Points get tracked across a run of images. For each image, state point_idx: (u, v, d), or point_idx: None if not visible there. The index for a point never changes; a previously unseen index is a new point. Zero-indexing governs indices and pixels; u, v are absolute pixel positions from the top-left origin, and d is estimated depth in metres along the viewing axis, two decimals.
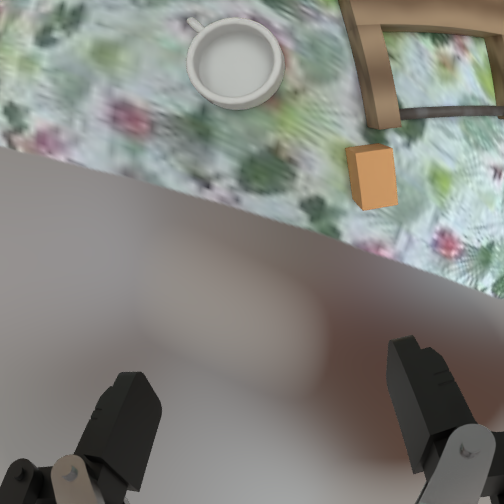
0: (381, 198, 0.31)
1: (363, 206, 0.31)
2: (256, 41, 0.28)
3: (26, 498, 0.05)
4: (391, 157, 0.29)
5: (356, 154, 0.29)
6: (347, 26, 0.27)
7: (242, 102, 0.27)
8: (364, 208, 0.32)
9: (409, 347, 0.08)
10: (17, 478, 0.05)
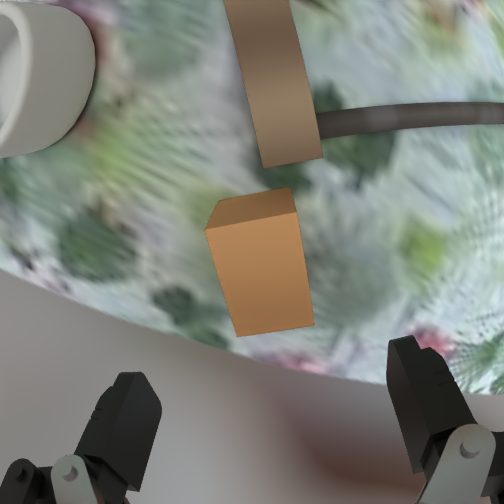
0: (276, 317, 0.16)
1: (237, 330, 0.16)
2: None
3: (26, 498, 0.05)
4: (295, 233, 0.14)
5: (207, 232, 0.14)
6: None
7: None
8: (240, 333, 0.16)
9: (409, 347, 0.08)
10: (17, 478, 0.05)
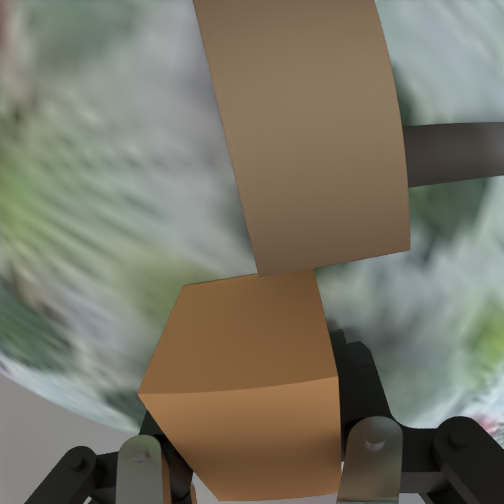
0: (281, 489, 0.08)
1: (219, 496, 0.08)
2: None
3: (78, 492, 0.05)
4: (328, 408, 0.06)
5: (143, 397, 0.06)
6: None
7: None
8: (223, 498, 0.08)
9: (335, 339, 0.09)
10: (73, 468, 0.06)
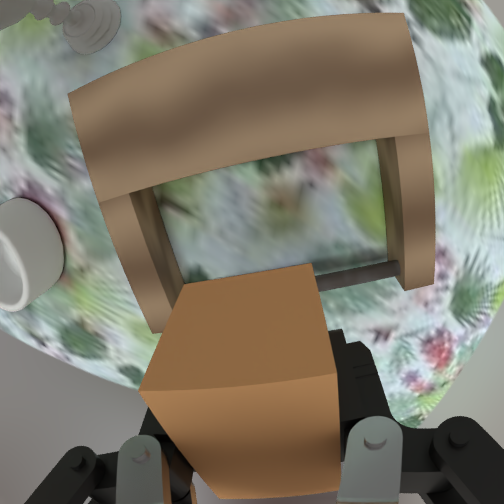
0: (281, 487, 0.08)
1: (219, 494, 0.08)
2: None
3: (78, 492, 0.05)
4: (327, 404, 0.06)
5: (145, 394, 0.06)
6: None
7: (14, 311, 0.23)
8: (223, 496, 0.08)
9: (335, 339, 0.09)
10: (73, 468, 0.06)
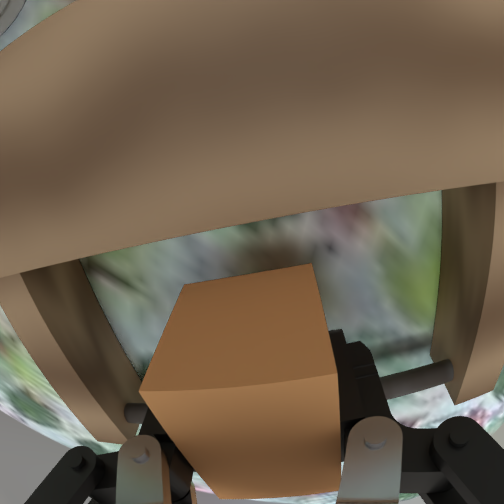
0: (282, 487, 0.08)
1: (219, 494, 0.08)
2: None
3: (78, 492, 0.05)
4: (328, 405, 0.06)
5: (145, 394, 0.06)
6: None
7: None
8: (224, 496, 0.08)
9: (335, 339, 0.09)
10: (73, 468, 0.06)
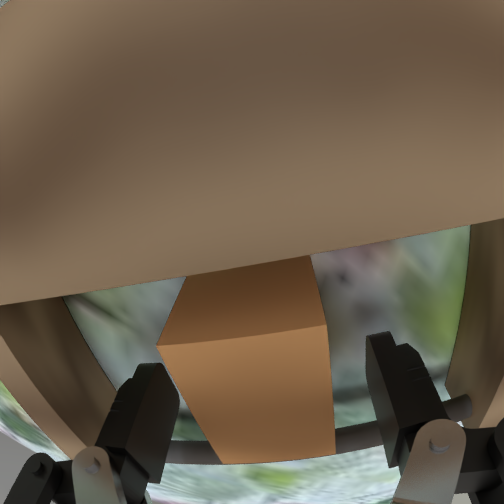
0: (281, 449, 0.09)
1: (222, 458, 0.10)
2: None
3: (43, 495, 0.05)
4: (319, 356, 0.07)
5: (161, 349, 0.07)
6: None
7: None
8: (227, 461, 0.10)
9: (384, 343, 0.08)
10: (34, 473, 0.05)
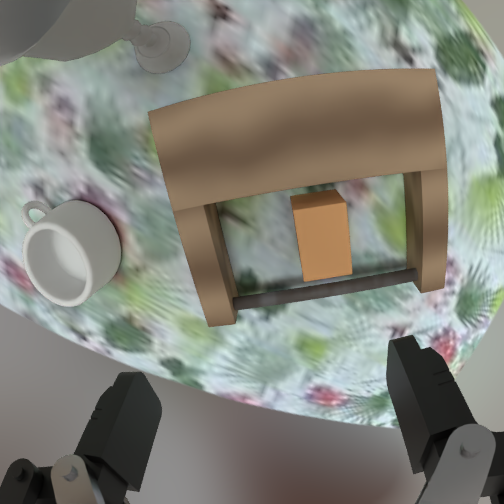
0: (330, 267, 0.25)
1: (304, 276, 0.26)
2: None
3: (26, 499, 0.05)
4: (344, 214, 0.23)
5: (294, 211, 0.24)
6: None
7: (71, 306, 0.27)
8: (306, 279, 0.26)
9: (409, 347, 0.08)
10: (17, 478, 0.05)
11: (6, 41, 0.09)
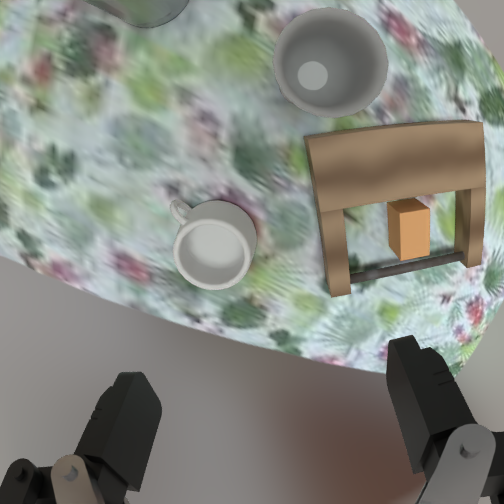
0: (417, 250, 0.35)
1: (401, 257, 0.35)
2: None
3: (26, 498, 0.05)
4: (428, 216, 0.33)
5: (400, 214, 0.33)
6: (315, 198, 0.37)
7: (219, 289, 0.37)
8: (402, 259, 0.36)
9: (409, 347, 0.08)
10: (17, 478, 0.05)
11: None
